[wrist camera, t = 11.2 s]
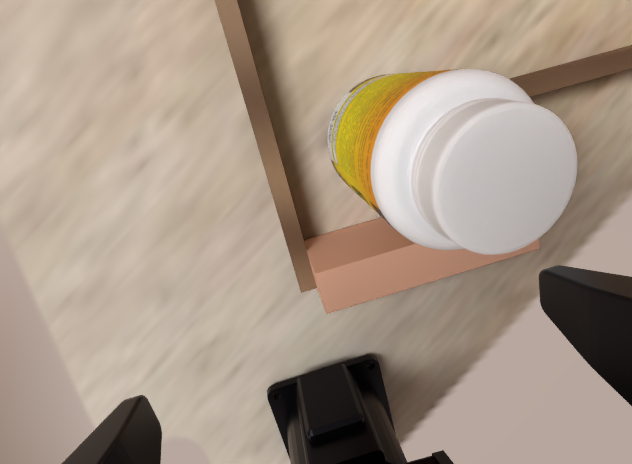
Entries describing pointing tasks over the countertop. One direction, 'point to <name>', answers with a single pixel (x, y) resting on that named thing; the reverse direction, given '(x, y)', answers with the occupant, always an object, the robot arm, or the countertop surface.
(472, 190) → the supplement bottle
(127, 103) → the countertop surface
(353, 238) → the stop block
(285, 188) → the walnut track
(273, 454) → the countertop surface
